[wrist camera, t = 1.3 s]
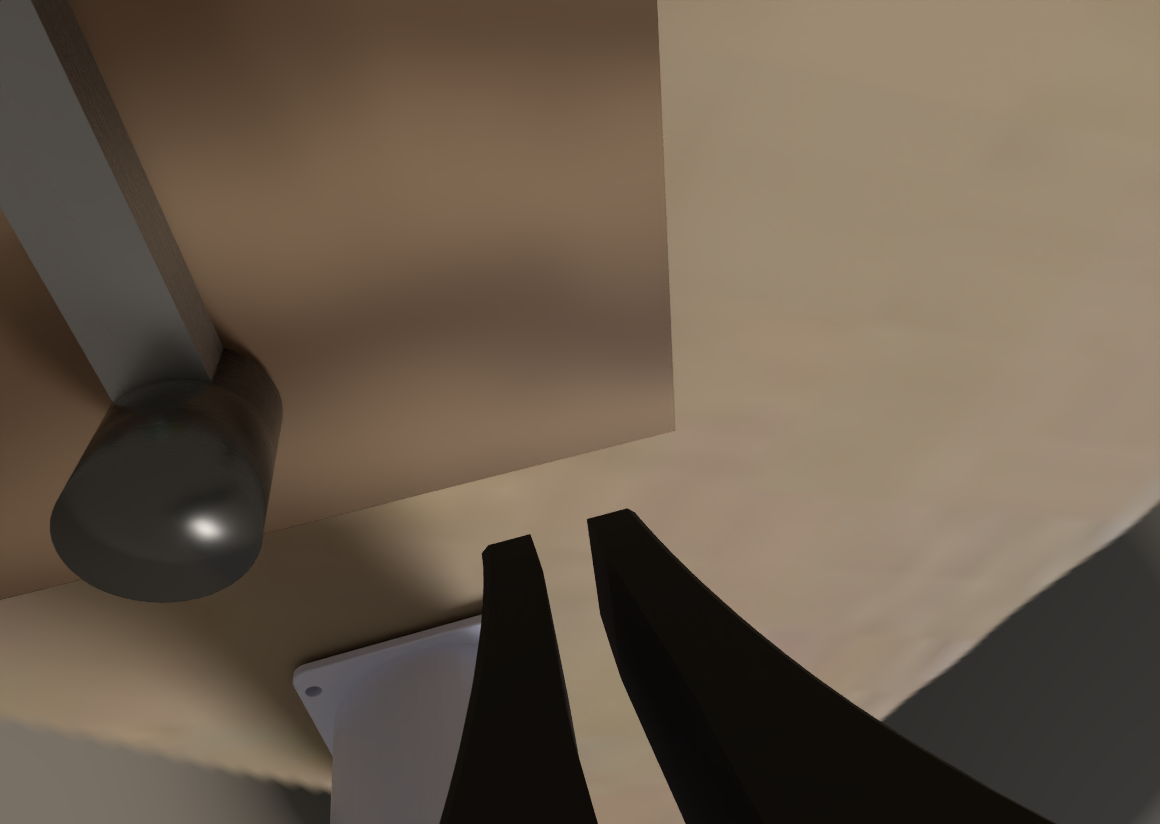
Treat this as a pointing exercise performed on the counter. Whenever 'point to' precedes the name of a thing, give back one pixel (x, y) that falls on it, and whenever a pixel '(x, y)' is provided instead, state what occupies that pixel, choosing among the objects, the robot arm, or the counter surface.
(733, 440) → the counter surface
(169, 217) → the board
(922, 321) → the counter surface
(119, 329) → the lever
